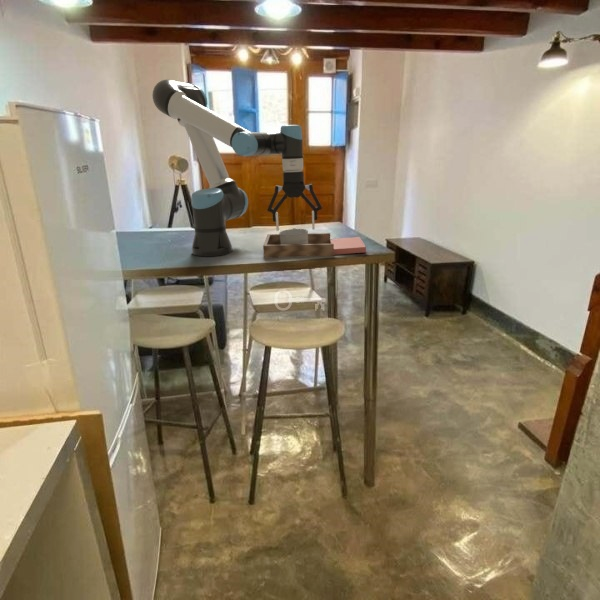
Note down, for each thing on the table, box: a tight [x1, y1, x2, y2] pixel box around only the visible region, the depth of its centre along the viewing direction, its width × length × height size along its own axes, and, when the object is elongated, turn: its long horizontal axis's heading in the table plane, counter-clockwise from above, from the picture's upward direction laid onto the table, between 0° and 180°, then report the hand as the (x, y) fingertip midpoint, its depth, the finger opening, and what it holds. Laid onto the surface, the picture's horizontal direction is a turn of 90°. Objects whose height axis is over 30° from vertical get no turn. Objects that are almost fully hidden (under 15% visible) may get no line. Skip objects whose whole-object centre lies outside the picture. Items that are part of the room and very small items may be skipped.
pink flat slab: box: [330, 236, 367, 255], centre depth 161 cm, size 2×17×12 cm
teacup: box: [278, 228, 309, 245], centre depth 161 cm, size 14×11×8 cm
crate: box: [262, 232, 334, 259], centre depth 161 cm, size 25×20×4 cm
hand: (295, 229), depth 159 cm, fingers open, 13 cm apart
